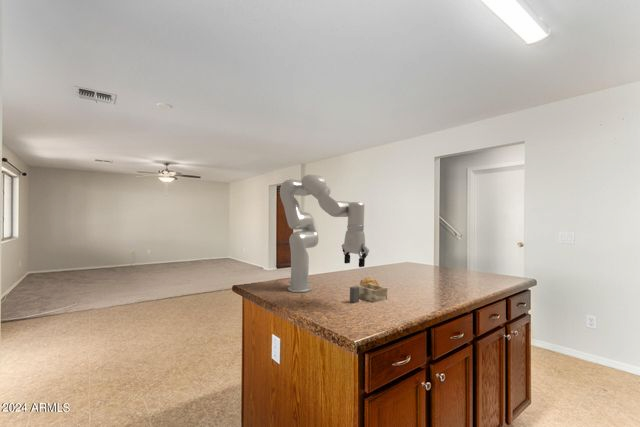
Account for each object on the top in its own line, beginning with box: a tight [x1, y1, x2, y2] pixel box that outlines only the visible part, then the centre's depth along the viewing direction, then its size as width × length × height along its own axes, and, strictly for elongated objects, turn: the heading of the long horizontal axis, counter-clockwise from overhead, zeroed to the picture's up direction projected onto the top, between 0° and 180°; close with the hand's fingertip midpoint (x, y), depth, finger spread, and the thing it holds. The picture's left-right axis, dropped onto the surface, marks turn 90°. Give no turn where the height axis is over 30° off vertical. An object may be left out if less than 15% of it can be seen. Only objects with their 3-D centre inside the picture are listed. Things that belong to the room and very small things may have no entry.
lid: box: [349, 285, 360, 304], centre depth 150 cm, size 13×10×8 cm
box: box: [356, 283, 388, 303], centre depth 157 cm, size 12×9×6 cm
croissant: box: [359, 276, 380, 286], centre depth 175 cm, size 21×10×8 cm, turn 16°
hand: (354, 264), depth 150 cm, fingers open, 9 cm apart
